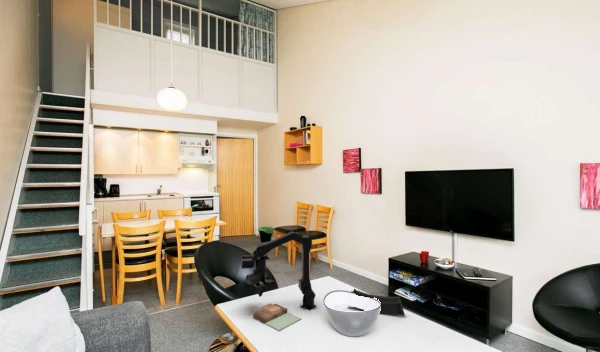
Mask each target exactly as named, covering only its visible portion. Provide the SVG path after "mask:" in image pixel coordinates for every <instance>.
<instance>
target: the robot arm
mask: <svg viewBox="0 0 600 352" xmlns="http://www.w3.org/2000/svg"><path fill="white" fill-rule="evenodd" d="M291 241H294V242H296V243H298V244H299V246H300V250H301V277H300V279H299V278H298V279H297V281H298V285H297V287H298V288H299V290H300V292H301V294H302V295H303V296H302V304H301V305H300V307H301V308H303V309H306V310H308V311H310V310H312V309H314V308H316V307H317V305H316V304H315V298H316V293H315V291H314V290H313V289H312V288H313V287H312V283H311V279H310V253H311V250H312V246H313V239H312V238H311V237H309V236H308V235H307V234H299V233H296V232H294V231H289V232H287V233H286V234H283V235H281V236H279V237H277V238H274V239H273V240H270V241H264V242H260V243H257V244H256V245H255V249H254V251H253V252H252V253H251V255H245V254H244V255H241V263H240V264H241V268H240V269H242V270H245V269H253V268H254V267H255V269H253V270H252V271H253V272H252V273H249V274H247V275H246V276H245V281H246V283H247V285H250V286H255V289H256V291H257V295H258V297H262V296H263V294H264V291H265V290H267V289H272V288H274V287H276V285H277V282H276V280H273V279H268V276H267V272H268V269H267V260H268V261H269V260H270V256H268V254H269V253H270V252H271V251H273V249H276V248H278V247H281V246H282V245H285V244H286V243H288V242H291ZM267 279H268V280H267Z"/></svg>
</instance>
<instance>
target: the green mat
mask: <svg viewBox="0 0 600 352" xmlns="http://www.w3.org/2000/svg"><path fill="white" fill-rule="evenodd" d="M301 320H302V318H301V317H299V316H297V315H295V314H293V313H290V312H287V313H286V314H284V315H281V316H279V317H277V318H275V319H273V320H271V321H269V322H267V323H265V324H264V325H266V326H267V327H270V328H272V329H274V330H276V331H278V332H281V331H282V330H284V329H286V328H288V327H290V326H292V325H295V323H297V322H299V321H301Z"/></svg>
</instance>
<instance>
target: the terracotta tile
mask: <svg viewBox="0 0 600 352" xmlns="http://www.w3.org/2000/svg"><path fill="white" fill-rule="evenodd" d="M261 310H262V311H264V312H266V313H268V314H270V315H275V314H277V313H279V312H281V308H280V307H278V306H275V305H274V304H273V303H268V304H265V305H263V306H261Z"/></svg>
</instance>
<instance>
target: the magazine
mask: <svg viewBox="0 0 600 352" xmlns="http://www.w3.org/2000/svg"><path fill="white" fill-rule="evenodd" d="M350 293H355V294H356V295H358V296H364V297H370V298H374V297H375V298H377V300H378V299H379V301H380V302H381V311H380V314H379V315H383V316H405V315H406V314H405V311H404V307H403V303H402V300H401V296H400V295H399V296H385V295H376V294H372V293H371V294H370V293H366V292H362V291H360V290H357V289H356V288H354V289H352V290H350Z"/></svg>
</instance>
